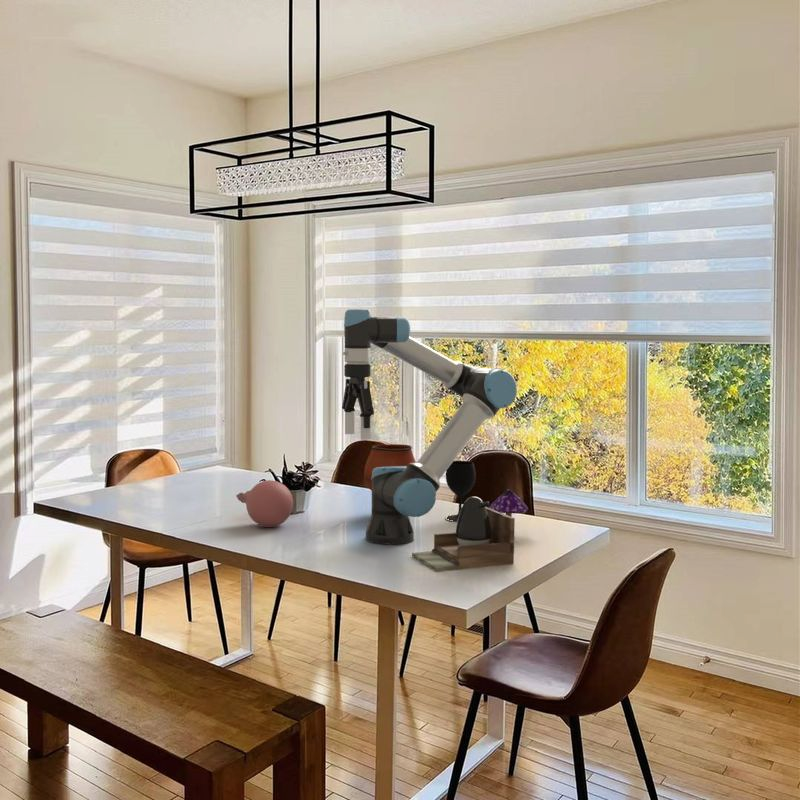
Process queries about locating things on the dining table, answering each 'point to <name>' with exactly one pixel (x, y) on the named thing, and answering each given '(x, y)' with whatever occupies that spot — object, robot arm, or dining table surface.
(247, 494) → the pink round body
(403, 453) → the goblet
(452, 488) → the wine glass
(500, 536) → the brown wooden tray
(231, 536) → the dining table surface
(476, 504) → the dark grey figurine
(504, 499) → the decorative mushroom
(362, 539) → the dining table surface
